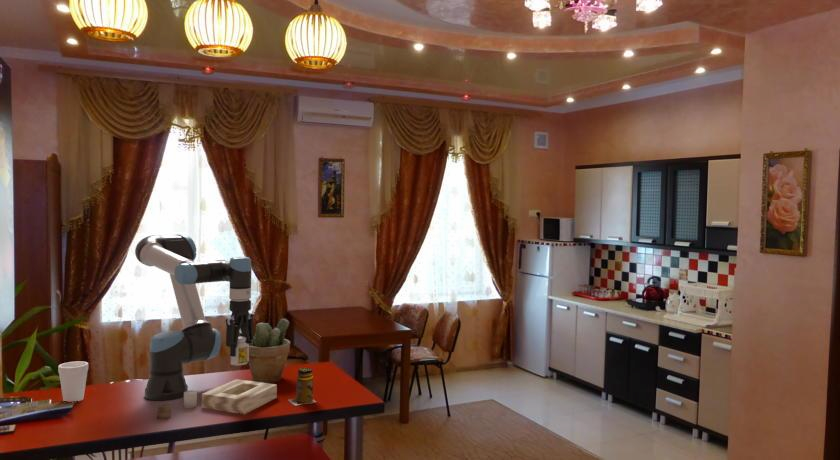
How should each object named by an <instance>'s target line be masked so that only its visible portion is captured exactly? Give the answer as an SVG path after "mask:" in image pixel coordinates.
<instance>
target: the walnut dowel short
mask: <svg viewBox="0 0 840 460" xmlns="http://www.w3.org/2000/svg"><path fill="white" fill-rule="evenodd" d="M170 417H172V405H171V404H170V403H161V404H159V405H157V406H156V419H157V420H158V419H165V420H168V418H169V419H171V418H170Z"/></svg>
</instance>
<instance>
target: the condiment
mask: <svg viewBox="0 0 840 460" xmlns="http://www.w3.org/2000/svg"><path fill="white" fill-rule="evenodd" d="M312 399H313V400H312ZM288 402H290V404H292V405H293V406H296V407H297V406H300V405H308V404H314V403H317V400H315V399H314V376H313V369H312V368H310V367H300V368H299V369H297V377H296V398H290V399H288ZM297 403H300V404H297Z"/></svg>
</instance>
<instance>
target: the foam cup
mask: <svg viewBox="0 0 840 460" xmlns="http://www.w3.org/2000/svg"><path fill="white" fill-rule="evenodd" d="M57 366H58V367H57V368H58V369H57V371H58V372H57V373H58V374H59V381H60V388H61V395H62V400H63V402H64V401H75V402H74V403H77V402H76V401H78V402H81V401H83V400H84V396H85V393H86V392H85V390H86V382H87V377H88V371H89V362H87V361H81V360H80V361H78V360H77V361H69V362H64V363H60V364H59V365H57Z"/></svg>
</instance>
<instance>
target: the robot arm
mask: <svg viewBox="0 0 840 460" xmlns="http://www.w3.org/2000/svg"><path fill="white" fill-rule="evenodd" d="M134 253H135V257H136V259H137V260H138V262H139V263H141V264H143V265H145V266H146V267H155V268H157V269H159V270H162V271H163V272H166V273H168V274H169V278H170V281H171V283H172V289H173V293H174V295H175V296H174V297H175V300H176V304H177V307H178V312H179V315H180V320H181V324H182V328H181V330H180V329H179V330H176V329H175V330H174V329H173V330H167V331H162V332H161V331H160V332H159V333H157V334H155V335H152V337H151V339H150V340H149V341H150V342H149V349H148V350H149V377H148V379H147V384H146V386H145V388H144V398H146V399H148V400H149V401H169V400H170V401H171V400H174V399H180V398H184V392H185V391H189V386H188V384H187V382H186V378H185V375H184V365H185V364H191V363H196V362H201V361H207V360H210V359H214V358H215V357H217V356H218V354H219V353H220V351H221V345H222V337H221V333H220V331H219V330H218V329H217V328H213V327H212V324H211V322H210V321H208V320H206V317H205V314H204V310H203V306H202V302H201V299H200V295H199V292H198V288H197V284H206V283H215V282H217V283H218V282H229V295H228V296H229V297H228V299H230V300H229V306H228V307H229V311H230V312H231V315H230V318H226V319H225V326H226V330H225V331H226V333H225V334H226V335H225V346H226V347H228V348H229V349H230V350H229V351H230V365H232V366H239V365H238V347H237V342H238V337H240V336H239V335H240V331H241V337H246V341H245V342H246V343H247V345H248V361H249V343H252V341H251V340H253V337H254V318H255V314H254V313H250V312H249V311H251V309H252V300H251V298H252V271H253V267H252V259H251V258H250V257H249V256H233V257H231V258H230V259H229V260H225V259H219V260H215V261H202V262H201V261H200V262H196V261H195V260H196V257H197V247H196V244H195V241H194V240H193V238H192V237H190V236H189V235H186V234H167V235H166V234H165V235H155V234H154V235H148V236H146V237H143V238H142V239H141V240H140V241H139V242H138V243H137V244H136V246H135V250H134Z"/></svg>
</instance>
